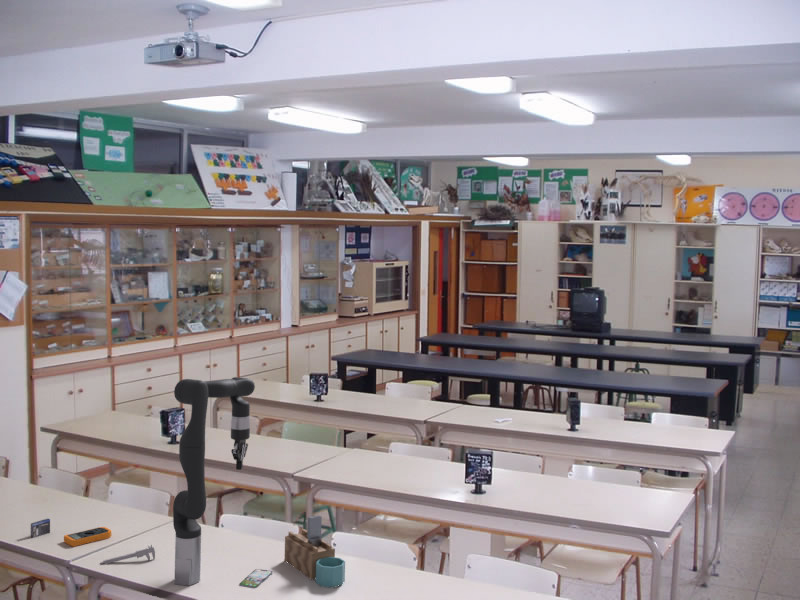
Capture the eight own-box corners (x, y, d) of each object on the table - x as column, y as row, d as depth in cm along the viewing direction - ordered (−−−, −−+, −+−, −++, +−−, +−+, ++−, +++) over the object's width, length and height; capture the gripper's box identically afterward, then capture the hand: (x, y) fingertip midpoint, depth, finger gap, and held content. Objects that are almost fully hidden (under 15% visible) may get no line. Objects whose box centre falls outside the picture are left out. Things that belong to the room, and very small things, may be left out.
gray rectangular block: (307, 544, 310) (307, 516, 310) (318, 542, 313) (319, 514, 313) (310, 547, 308) (311, 519, 307) (322, 544, 311) (322, 517, 310)
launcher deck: (284, 560, 320) (285, 532, 320) (306, 556, 326) (307, 528, 326) (311, 579, 302) (312, 549, 302) (334, 574, 308) (335, 544, 308)
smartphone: (238, 584, 295) (255, 568, 309) (238, 587, 295) (255, 571, 309) (256, 587, 293) (273, 571, 307) (256, 590, 293) (273, 574, 307)
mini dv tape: (32, 538, 336) (33, 524, 336) (30, 537, 337) (30, 523, 337) (49, 532, 343) (50, 519, 343) (47, 532, 344) (47, 518, 344)
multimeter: (113, 538, 340) (113, 530, 340) (72, 548, 327) (72, 540, 327) (103, 533, 346) (103, 525, 346) (62, 542, 333) (62, 534, 332)
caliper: (154, 559, 318) (155, 544, 317) (154, 560, 317) (155, 545, 316) (100, 563, 311) (100, 547, 311) (99, 564, 310) (100, 548, 310)
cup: (311, 579, 302) (312, 560, 302) (334, 574, 308) (335, 555, 308) (325, 589, 294) (325, 569, 293) (348, 583, 300) (349, 563, 299)
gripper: (243, 430, 316) (242, 474, 317) (254, 424, 329) (253, 465, 330) (225, 429, 317) (224, 472, 318) (237, 423, 331) (236, 464, 331)
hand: (239, 469), depth 324 cm, fingers closed
